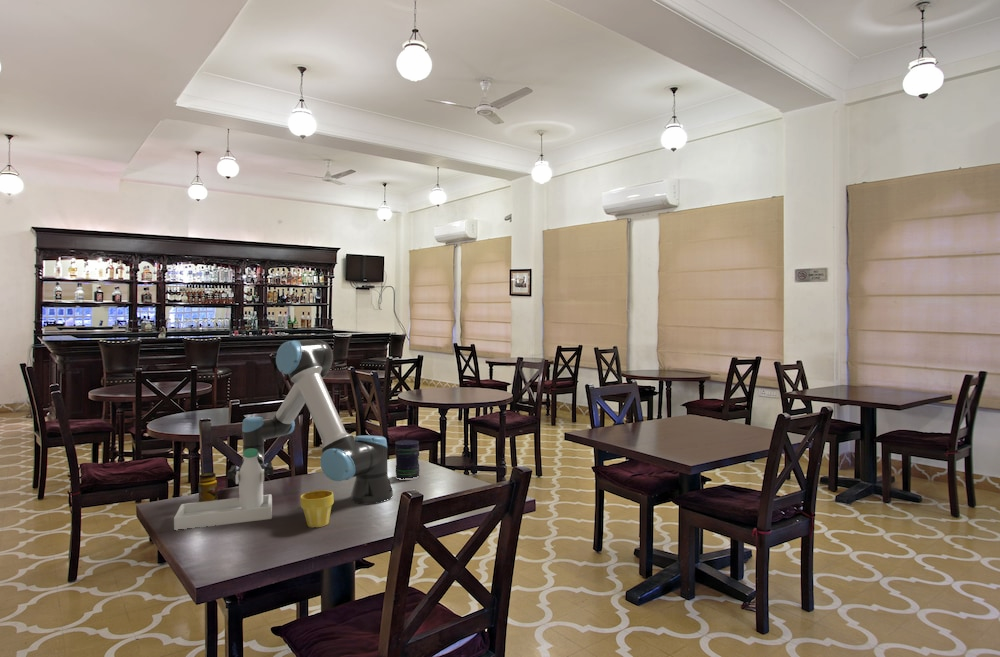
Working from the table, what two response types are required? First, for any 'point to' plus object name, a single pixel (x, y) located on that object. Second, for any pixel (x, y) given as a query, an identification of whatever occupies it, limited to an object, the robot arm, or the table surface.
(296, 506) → the table surface
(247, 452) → the milk bottle
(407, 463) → the storage jar
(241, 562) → the table surface
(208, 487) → the condiment
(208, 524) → the tray
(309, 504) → the plant pot
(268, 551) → the table surface
